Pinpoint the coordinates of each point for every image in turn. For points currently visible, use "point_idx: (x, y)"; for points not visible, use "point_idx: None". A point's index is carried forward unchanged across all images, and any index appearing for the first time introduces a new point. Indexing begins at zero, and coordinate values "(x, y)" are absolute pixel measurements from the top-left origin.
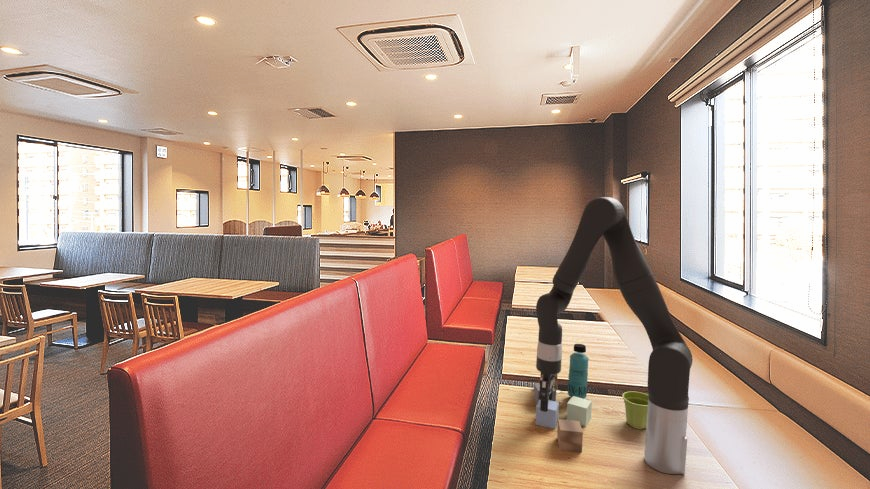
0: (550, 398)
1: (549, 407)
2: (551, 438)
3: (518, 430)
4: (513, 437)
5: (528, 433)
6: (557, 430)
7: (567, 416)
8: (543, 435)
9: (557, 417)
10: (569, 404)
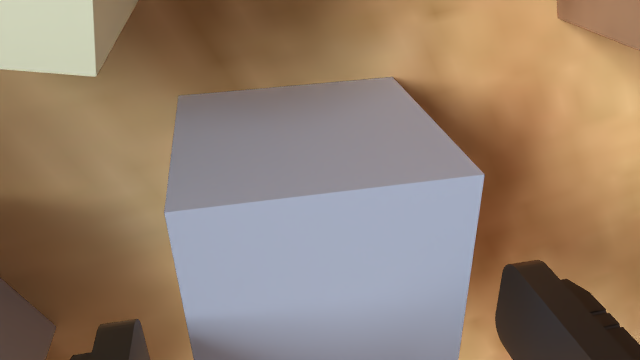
0: (139, 343)
1: (422, 269)
2: (576, 65)
3: None
4: (621, 301)
5: (545, 244)
6: (612, 39)
7: (132, 2)
8: (544, 140)
9: (247, 112)
10: (100, 25)
